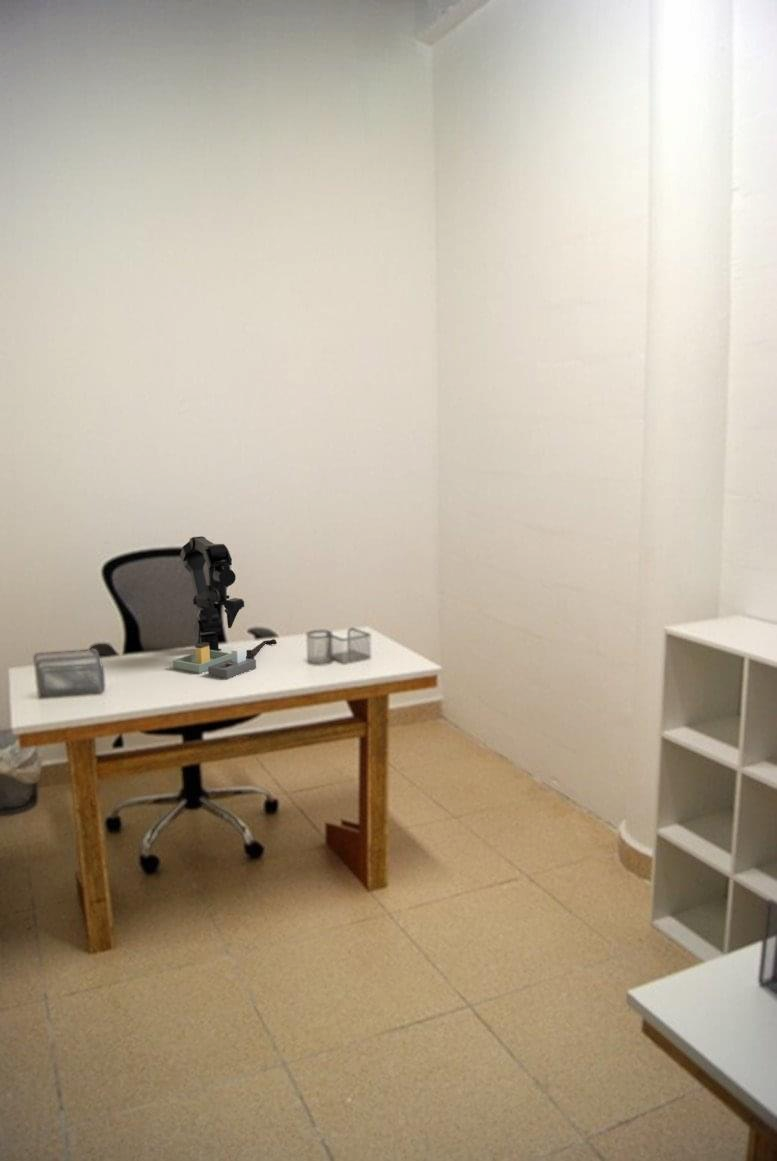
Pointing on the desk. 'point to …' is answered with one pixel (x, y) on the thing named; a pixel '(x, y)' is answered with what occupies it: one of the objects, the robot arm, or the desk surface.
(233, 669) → the fuse block
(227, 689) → the desk surface
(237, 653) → the white rectangular block
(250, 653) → the wrench
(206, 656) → the tan and brown block
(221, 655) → the parts tray
